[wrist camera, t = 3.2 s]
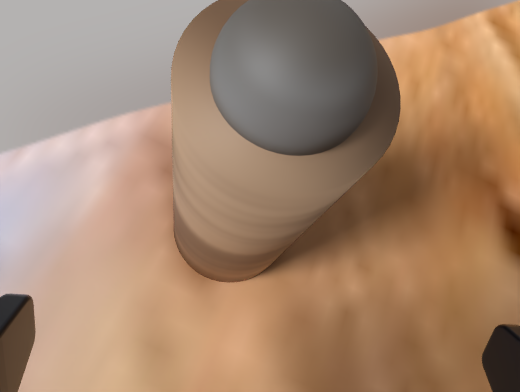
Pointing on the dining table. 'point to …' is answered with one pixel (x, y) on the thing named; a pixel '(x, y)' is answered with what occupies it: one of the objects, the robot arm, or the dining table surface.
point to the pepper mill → (271, 126)
